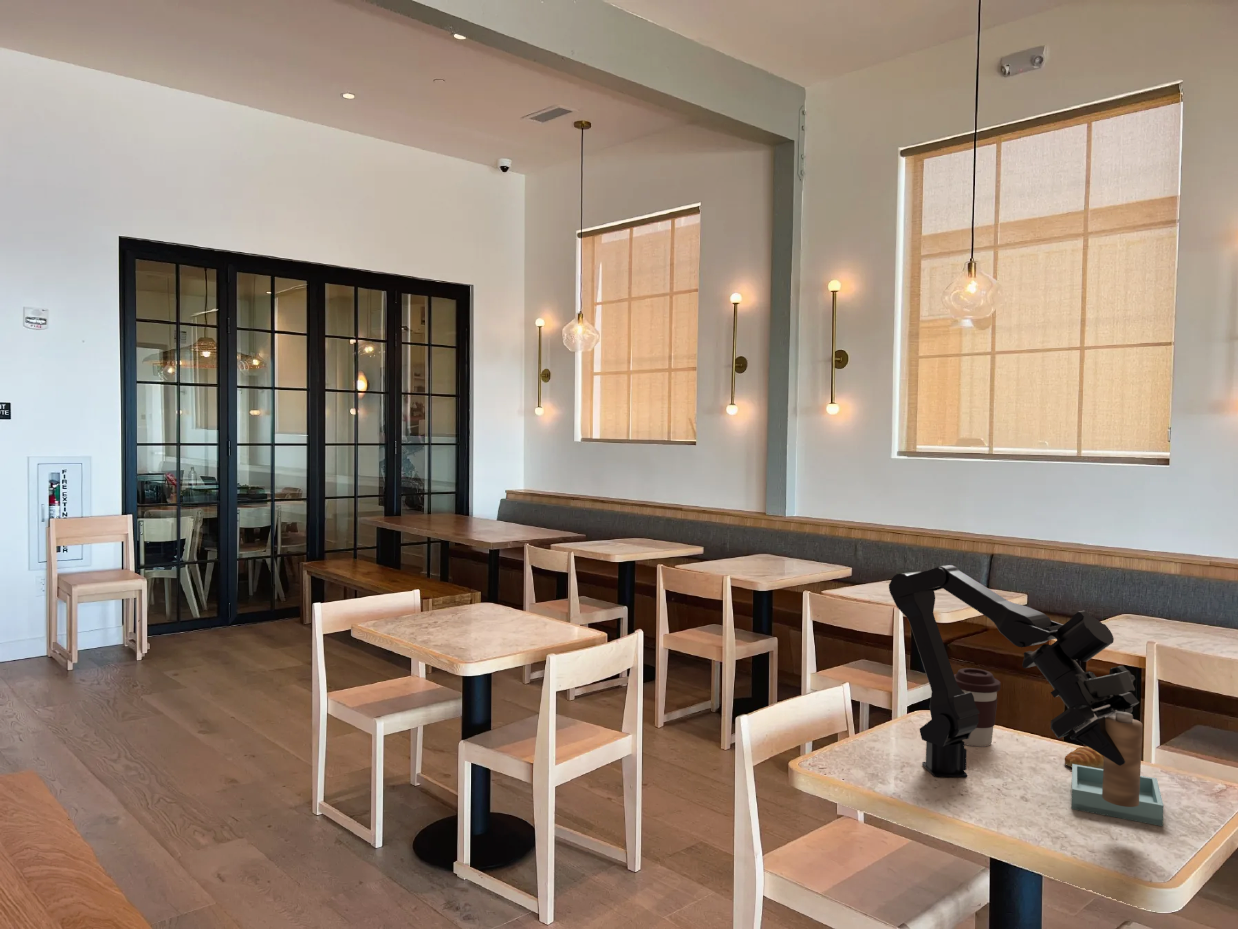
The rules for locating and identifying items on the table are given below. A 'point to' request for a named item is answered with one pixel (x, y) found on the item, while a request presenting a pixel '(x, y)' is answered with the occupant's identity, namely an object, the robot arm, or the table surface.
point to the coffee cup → (980, 702)
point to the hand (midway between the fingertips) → (1131, 761)
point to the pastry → (1085, 758)
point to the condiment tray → (1090, 800)
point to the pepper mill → (1125, 779)
